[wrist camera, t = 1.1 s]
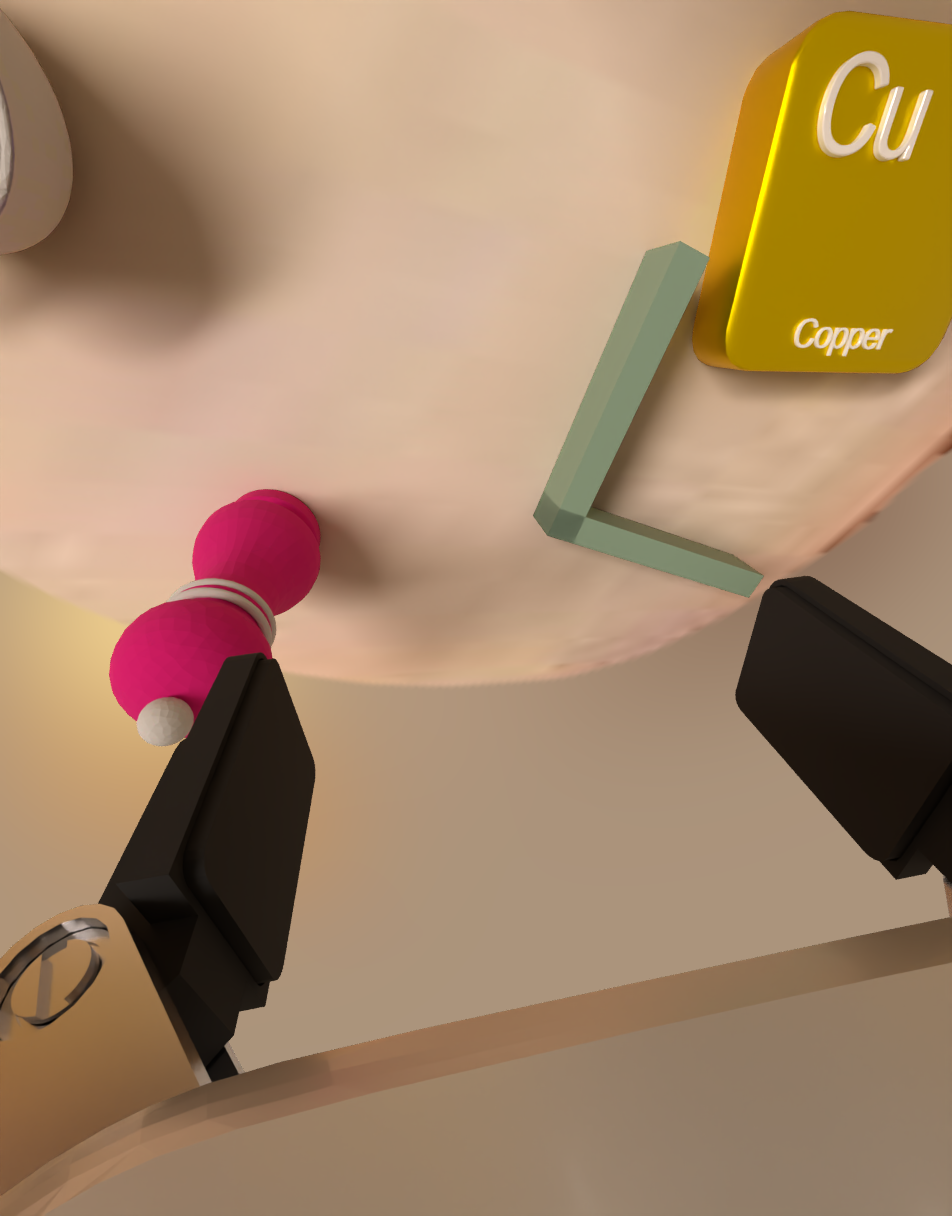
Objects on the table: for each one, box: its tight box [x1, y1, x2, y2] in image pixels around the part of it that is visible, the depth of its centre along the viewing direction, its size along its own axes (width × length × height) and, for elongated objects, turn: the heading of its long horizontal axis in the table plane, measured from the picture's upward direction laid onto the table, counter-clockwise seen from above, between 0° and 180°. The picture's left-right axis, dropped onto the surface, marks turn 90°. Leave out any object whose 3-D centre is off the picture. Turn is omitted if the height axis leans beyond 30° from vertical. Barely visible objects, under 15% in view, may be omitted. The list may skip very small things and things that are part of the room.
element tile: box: [692, 11, 952, 374], centre depth 28 cm, size 15×15×5 cm
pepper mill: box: [109, 489, 320, 746], centre depth 26 cm, size 7×7×20 cm
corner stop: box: [533, 241, 764, 598], centre depth 34 cm, size 17×18×4 cm
